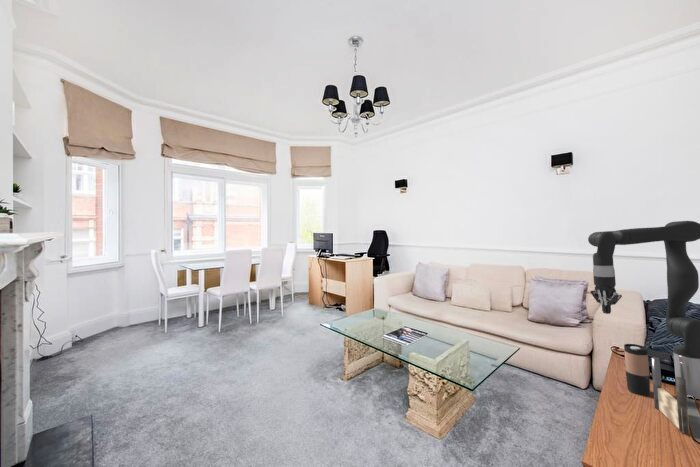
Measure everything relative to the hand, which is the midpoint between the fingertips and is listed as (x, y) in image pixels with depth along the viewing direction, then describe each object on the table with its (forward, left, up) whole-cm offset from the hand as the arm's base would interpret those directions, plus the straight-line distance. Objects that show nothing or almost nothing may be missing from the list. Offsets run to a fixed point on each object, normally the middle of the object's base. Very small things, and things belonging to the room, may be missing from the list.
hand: (606, 313), depth 133 cm
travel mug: (-10, +3, -35) cm, 37 cm away
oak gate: (+1, +23, -35) cm, 42 cm away
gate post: (-4, +15, -35) cm, 38 cm away
